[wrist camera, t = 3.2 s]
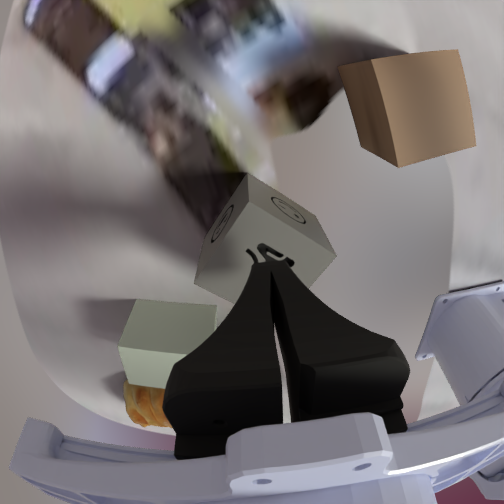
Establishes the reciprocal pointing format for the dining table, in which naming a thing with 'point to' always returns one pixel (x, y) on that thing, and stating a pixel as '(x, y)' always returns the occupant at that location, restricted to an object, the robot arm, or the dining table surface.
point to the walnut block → (410, 105)
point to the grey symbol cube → (260, 240)
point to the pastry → (145, 405)
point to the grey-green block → (162, 338)
